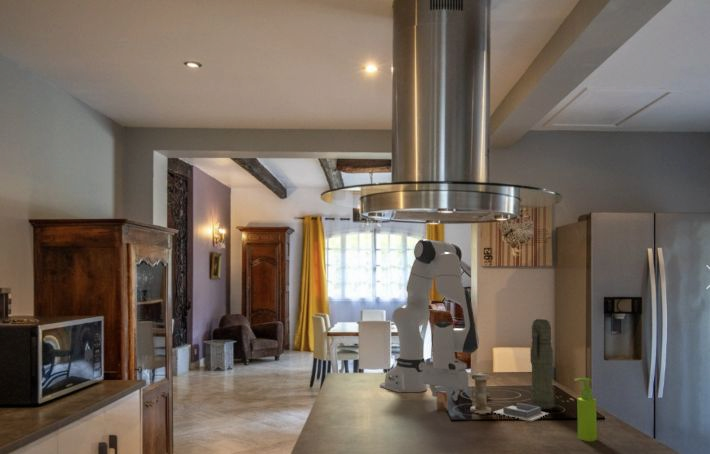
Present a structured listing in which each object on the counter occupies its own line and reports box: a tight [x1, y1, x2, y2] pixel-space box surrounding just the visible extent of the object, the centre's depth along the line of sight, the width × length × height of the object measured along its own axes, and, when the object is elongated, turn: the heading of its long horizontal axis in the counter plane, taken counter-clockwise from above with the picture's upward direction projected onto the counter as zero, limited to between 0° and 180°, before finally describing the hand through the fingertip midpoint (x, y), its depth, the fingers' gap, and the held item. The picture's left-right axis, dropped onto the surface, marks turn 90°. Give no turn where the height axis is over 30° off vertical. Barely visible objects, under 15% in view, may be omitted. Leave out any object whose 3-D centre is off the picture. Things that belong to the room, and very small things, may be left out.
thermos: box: [529, 318, 555, 410], centre depth 241 cm, size 9×12×35 cm
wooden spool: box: [469, 373, 492, 415], centre depth 232 cm, size 8×8×14 cm
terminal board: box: [493, 402, 550, 422], centre depth 228 cm, size 16×14×3 cm
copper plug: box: [436, 390, 449, 412], centre depth 234 cm, size 4×4×7 cm
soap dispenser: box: [573, 377, 598, 442], centre depth 198 cm, size 6×7×20 cm
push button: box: [476, 371, 491, 397], centre depth 258 cm, size 7×5×10 cm
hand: (444, 398), depth 234 cm, fingers open, 8 cm apart
